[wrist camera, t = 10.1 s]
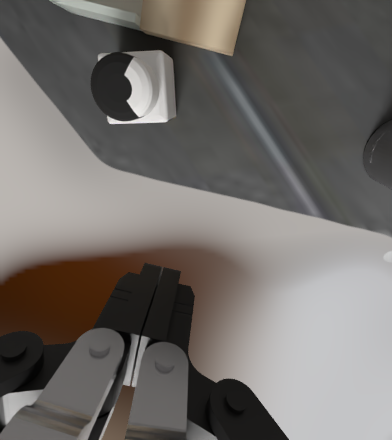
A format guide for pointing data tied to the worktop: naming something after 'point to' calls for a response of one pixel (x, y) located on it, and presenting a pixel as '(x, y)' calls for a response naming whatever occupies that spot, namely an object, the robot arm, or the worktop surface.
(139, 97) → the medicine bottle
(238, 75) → the worktop surface
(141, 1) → the box
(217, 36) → the wooden slab
